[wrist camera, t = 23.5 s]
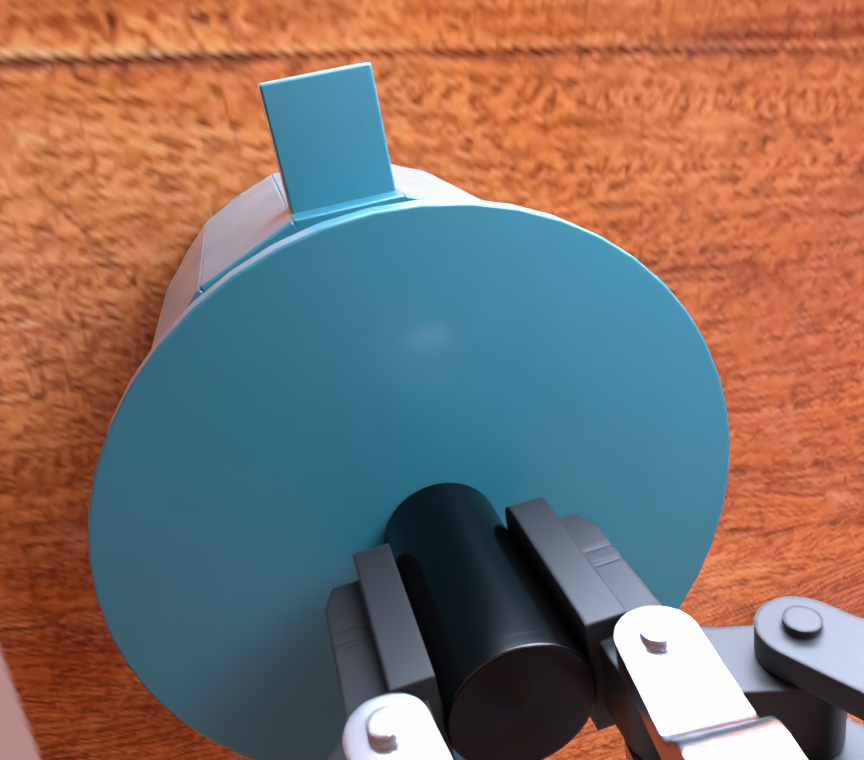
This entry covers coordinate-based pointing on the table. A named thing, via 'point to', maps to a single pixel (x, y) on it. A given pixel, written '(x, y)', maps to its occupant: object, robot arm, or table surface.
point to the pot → (304, 177)
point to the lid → (400, 468)
